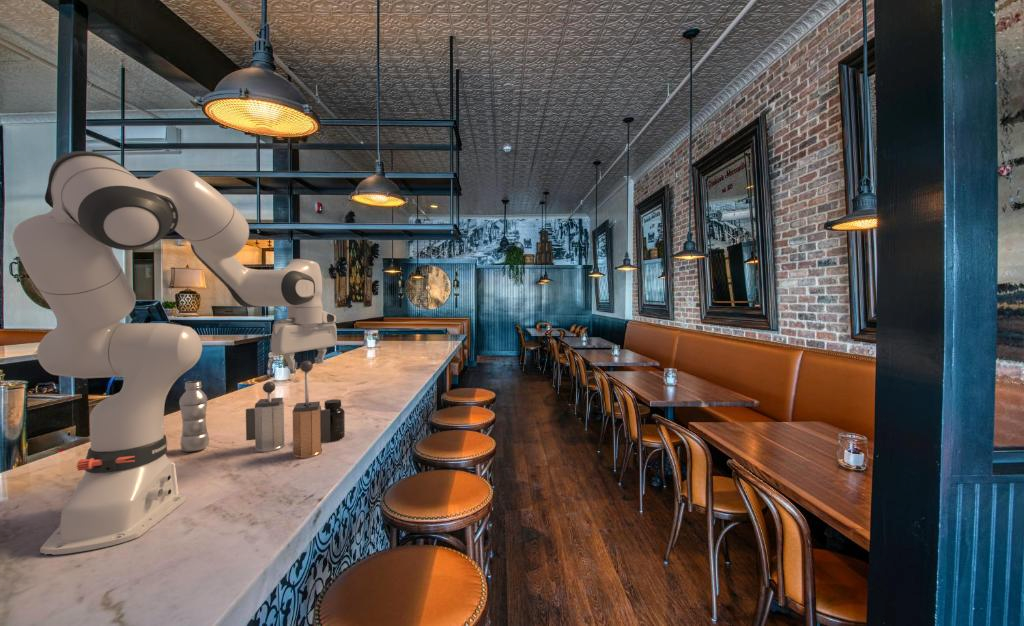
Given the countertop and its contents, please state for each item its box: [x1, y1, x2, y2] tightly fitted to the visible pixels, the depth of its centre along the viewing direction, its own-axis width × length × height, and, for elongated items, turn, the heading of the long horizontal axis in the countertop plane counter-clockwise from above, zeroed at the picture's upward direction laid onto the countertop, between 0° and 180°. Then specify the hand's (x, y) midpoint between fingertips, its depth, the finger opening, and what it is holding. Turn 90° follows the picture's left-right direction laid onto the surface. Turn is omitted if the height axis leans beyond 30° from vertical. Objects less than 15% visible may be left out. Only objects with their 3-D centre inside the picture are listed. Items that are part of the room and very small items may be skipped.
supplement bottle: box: [323, 398, 346, 443], centre depth 127 cm, size 7×7×12 cm
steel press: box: [245, 397, 286, 453], centre depth 119 cm, size 10×7×14 cm
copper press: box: [292, 401, 330, 460], centre depth 115 cm, size 10×7×14 cm
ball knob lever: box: [299, 360, 314, 406], centre depth 114 cm, size 3×3×15 cm
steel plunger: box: [262, 381, 276, 401], centre depth 119 cm, size 3×3×15 cm
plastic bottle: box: [178, 380, 210, 453], centre depth 117 cm, size 6×7×20 cm
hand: (306, 366), depth 114 cm, fingers open, 8 cm apart
